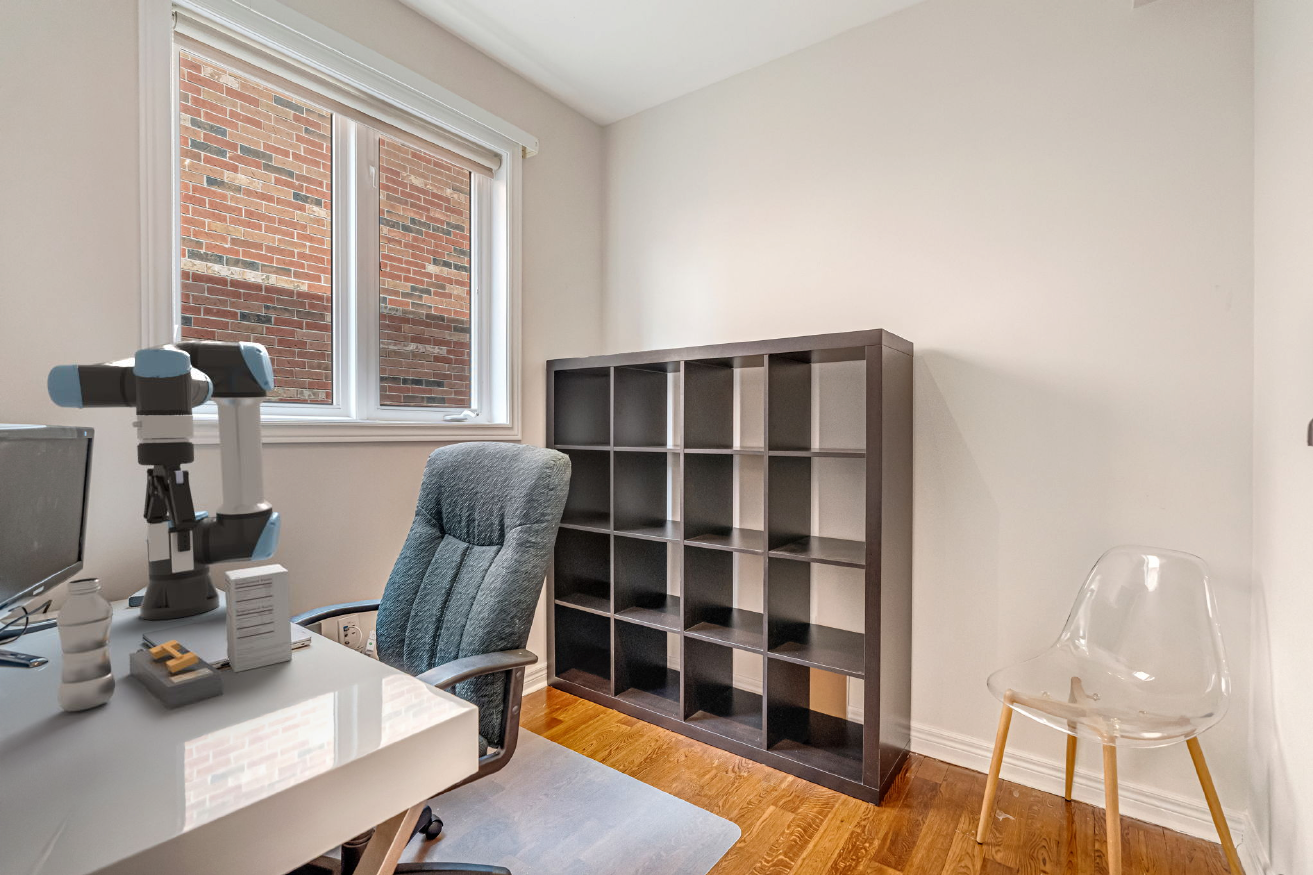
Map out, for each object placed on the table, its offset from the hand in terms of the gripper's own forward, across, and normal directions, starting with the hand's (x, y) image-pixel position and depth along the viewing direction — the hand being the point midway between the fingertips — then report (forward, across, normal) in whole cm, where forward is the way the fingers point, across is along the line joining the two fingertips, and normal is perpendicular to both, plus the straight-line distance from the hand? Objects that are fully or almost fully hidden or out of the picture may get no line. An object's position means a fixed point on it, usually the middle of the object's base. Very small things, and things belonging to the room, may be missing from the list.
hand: (170, 565), depth 105 cm
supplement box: (+20, 0, +13) cm, 24 cm away
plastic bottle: (+20, 0, -11) cm, 23 cm away
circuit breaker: (+20, -5, 0) cm, 21 cm away
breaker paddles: (+15, 0, 0) cm, 15 cm away
